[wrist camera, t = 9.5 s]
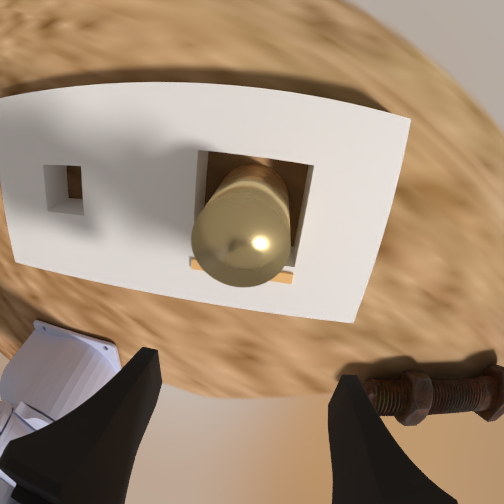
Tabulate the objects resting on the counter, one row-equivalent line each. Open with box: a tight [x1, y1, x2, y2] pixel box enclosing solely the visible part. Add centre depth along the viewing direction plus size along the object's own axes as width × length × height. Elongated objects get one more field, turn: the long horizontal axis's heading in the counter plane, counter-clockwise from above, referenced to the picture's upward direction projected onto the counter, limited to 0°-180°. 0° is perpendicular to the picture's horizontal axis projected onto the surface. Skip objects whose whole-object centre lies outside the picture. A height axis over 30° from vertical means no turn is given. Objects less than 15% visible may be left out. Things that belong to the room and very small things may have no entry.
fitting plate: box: [0, 82, 411, 323], centre depth 17 cm, size 24×12×3 cm, turn 83°
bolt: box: [363, 365, 504, 426], centre depth 22 cm, size 6×5×15 cm
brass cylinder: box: [191, 164, 291, 287], centre depth 15 cm, size 4×4×6 cm
